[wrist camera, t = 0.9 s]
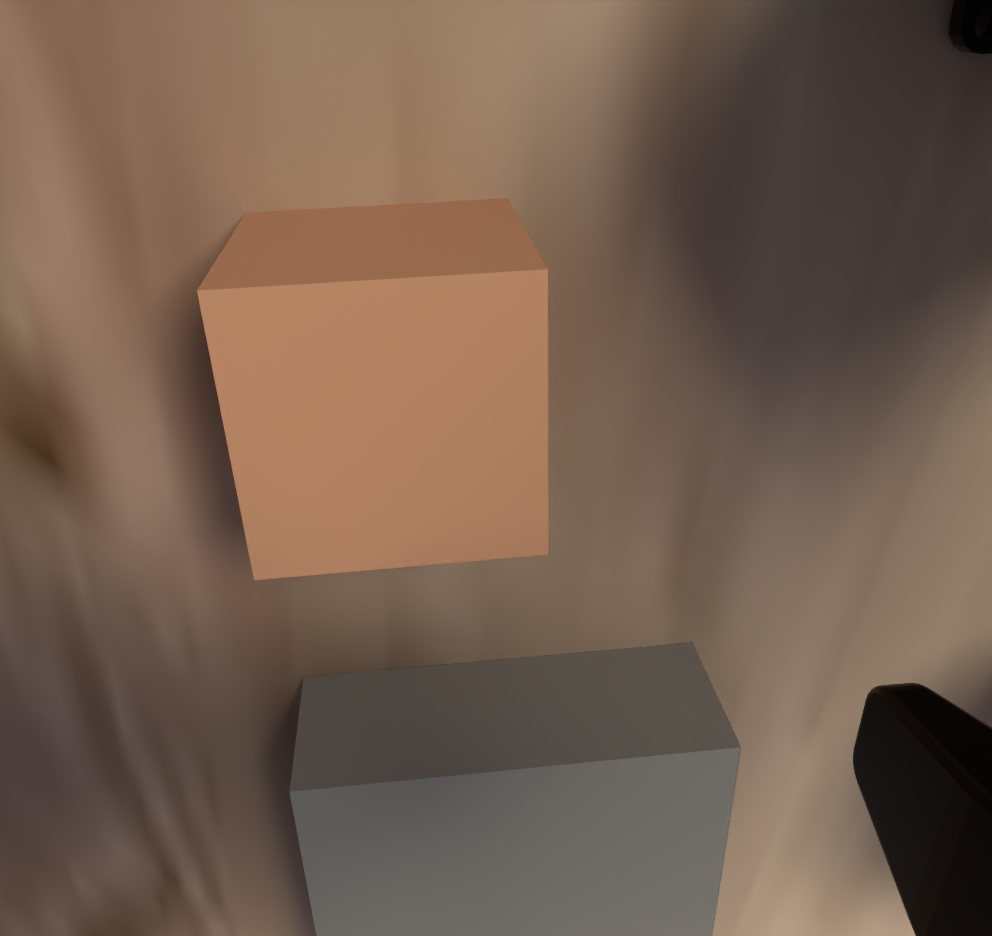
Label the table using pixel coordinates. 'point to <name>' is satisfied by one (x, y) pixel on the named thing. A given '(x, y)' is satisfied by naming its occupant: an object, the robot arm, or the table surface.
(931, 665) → the table surface
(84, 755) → the table surface
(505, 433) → the terracotta cube
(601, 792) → the slate block
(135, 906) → the table surface
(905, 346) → the table surface
